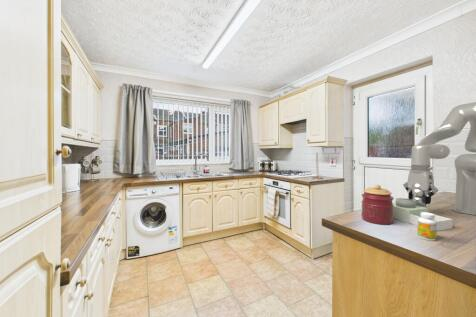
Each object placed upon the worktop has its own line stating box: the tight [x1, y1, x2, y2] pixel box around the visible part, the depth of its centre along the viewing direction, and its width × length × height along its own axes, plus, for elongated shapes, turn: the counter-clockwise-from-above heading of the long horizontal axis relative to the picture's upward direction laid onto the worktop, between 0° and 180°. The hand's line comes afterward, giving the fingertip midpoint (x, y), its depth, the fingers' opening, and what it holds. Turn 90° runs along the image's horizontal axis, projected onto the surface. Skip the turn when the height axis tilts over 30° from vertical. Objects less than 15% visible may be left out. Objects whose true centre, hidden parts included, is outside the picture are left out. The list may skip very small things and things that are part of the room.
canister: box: [360, 184, 394, 226], centre depth 101 cm, size 13×13×18 cm
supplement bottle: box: [417, 212, 437, 242], centre depth 81 cm, size 5×5×10 cm
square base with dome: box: [392, 197, 454, 232], centre depth 100 cm, size 12×22×9 cm, turn 15°
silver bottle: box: [411, 183, 428, 208], centre depth 109 cm, size 6×7×20 cm
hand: (419, 201), depth 110 cm, fingers open, 7 cm apart
